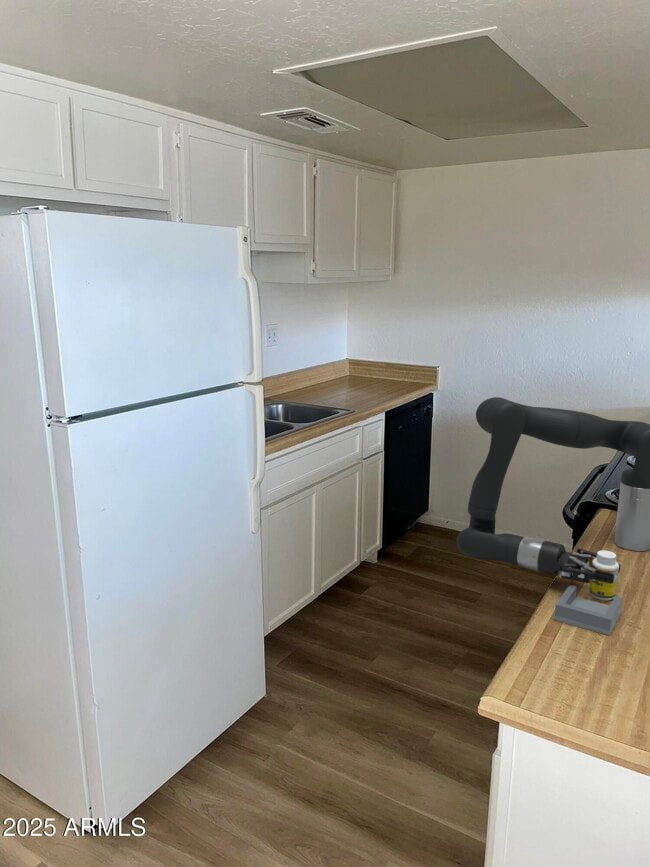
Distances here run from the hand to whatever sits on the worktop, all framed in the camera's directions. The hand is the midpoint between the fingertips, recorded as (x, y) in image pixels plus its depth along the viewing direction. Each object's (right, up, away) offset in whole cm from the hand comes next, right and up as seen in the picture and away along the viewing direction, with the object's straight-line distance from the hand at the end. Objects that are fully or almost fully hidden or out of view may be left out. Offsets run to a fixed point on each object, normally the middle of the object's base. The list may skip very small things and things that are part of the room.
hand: (616, 573), depth 147 cm
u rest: (-9, -8, -6) cm, 13 cm away
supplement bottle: (-2, -6, +3) cm, 7 cm away
